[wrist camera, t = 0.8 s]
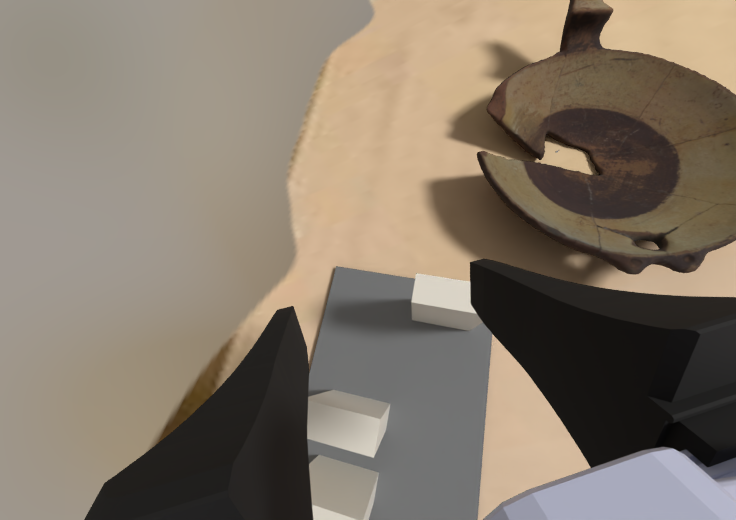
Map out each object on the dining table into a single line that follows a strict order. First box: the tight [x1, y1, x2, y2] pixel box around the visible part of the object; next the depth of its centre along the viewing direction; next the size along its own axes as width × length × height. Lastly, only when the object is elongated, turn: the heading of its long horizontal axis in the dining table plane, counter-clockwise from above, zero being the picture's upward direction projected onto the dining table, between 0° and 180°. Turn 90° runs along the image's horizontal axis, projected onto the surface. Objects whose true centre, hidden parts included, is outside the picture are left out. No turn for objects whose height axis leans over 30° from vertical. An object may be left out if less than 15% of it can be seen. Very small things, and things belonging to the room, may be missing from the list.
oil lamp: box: [477, 0, 736, 274], centre depth 27 cm, size 22×30×8 cm
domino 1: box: [307, 390, 390, 458], centre depth 21 cm, size 2×5×8 cm, turn 78°
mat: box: [307, 266, 492, 520], centre depth 24 cm, size 28×15×1 cm, turn 168°
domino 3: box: [411, 273, 483, 331], centre depth 23 cm, size 2×5×8 cm, turn 78°
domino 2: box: [309, 455, 379, 520], centre depth 20 cm, size 2×5×8 cm, turn 78°
